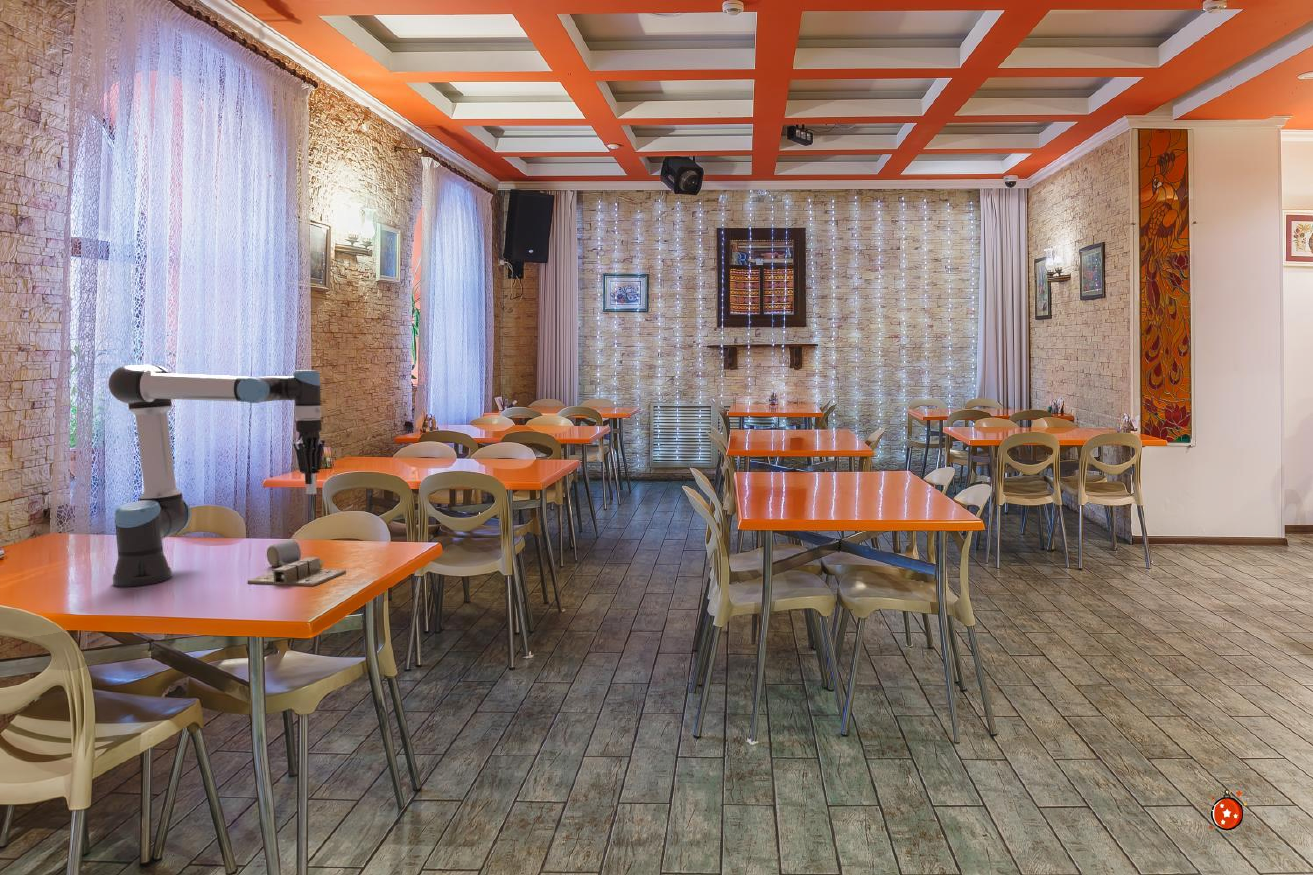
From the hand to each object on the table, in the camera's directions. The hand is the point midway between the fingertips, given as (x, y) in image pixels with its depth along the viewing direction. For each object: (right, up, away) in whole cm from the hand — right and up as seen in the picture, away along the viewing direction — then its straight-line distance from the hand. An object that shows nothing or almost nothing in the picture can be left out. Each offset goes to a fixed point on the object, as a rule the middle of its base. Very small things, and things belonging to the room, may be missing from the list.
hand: (311, 493), depth 269 cm
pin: (+2, -24, -13) cm, 27 cm away
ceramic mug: (-9, -23, +3) cm, 25 cm away
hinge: (+2, -24, -14) cm, 28 cm away
